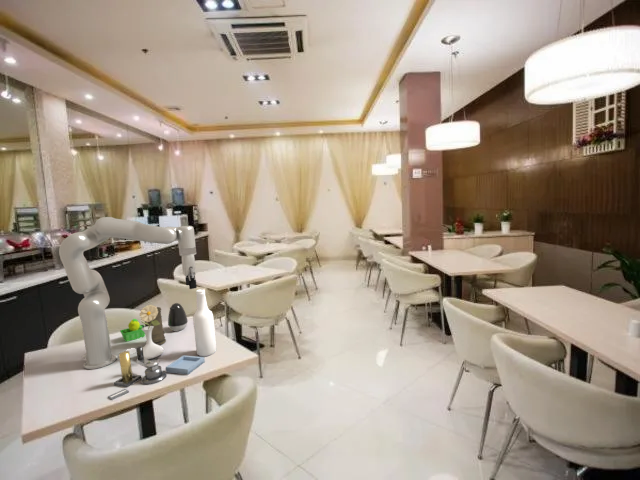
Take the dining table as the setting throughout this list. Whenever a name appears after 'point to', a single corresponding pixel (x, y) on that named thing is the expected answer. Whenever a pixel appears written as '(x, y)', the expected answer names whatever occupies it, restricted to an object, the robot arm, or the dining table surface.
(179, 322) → the black egg shape
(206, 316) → the alcohol
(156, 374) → the crank housing
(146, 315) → the flower in vase
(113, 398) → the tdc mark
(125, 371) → the peg
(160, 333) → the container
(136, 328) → the fruit basket
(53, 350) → the dining table surface
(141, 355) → the crank
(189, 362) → the tray
